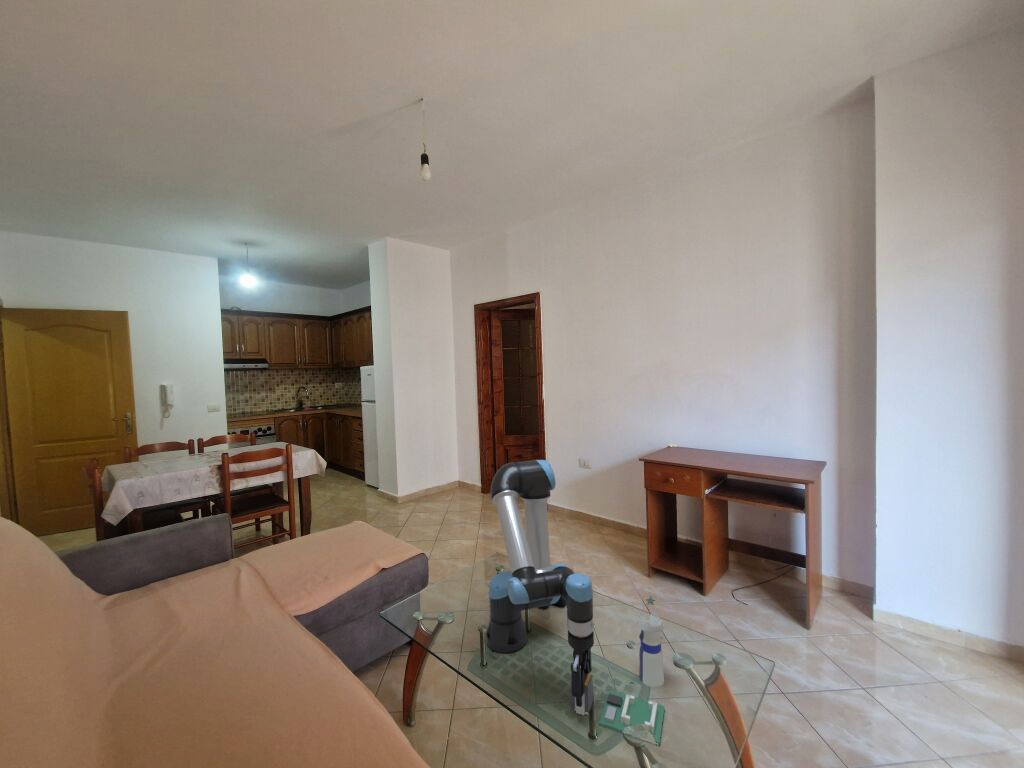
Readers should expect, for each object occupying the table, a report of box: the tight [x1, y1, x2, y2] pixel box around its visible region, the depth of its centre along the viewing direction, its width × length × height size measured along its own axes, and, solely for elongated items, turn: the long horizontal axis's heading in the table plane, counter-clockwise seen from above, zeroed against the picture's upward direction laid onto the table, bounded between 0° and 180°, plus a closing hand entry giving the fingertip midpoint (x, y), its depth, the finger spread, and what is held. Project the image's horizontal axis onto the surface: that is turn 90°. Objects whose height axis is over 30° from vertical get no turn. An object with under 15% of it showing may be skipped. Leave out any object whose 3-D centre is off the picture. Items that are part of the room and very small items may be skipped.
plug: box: [570, 672, 594, 714], centre depth 123 cm, size 5×5×9 cm
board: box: [598, 689, 665, 745], centre depth 119 cm, size 16×13×3 cm
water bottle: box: [635, 595, 665, 688], centre depth 133 cm, size 8×9×25 cm
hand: (583, 707), depth 123 cm, fingers closed on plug, 5 cm apart
